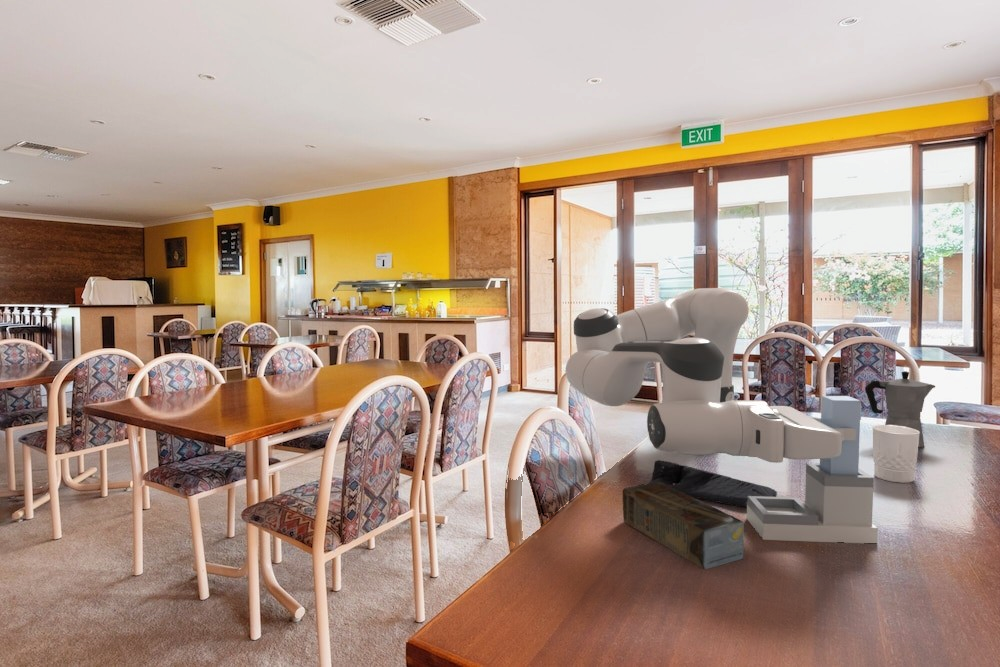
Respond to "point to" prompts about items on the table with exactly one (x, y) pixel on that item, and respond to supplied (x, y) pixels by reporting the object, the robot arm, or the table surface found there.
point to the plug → (842, 415)
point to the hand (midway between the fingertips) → (845, 429)
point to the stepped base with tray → (819, 510)
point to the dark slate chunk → (707, 484)
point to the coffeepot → (901, 401)
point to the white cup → (895, 452)
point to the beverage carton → (684, 524)
